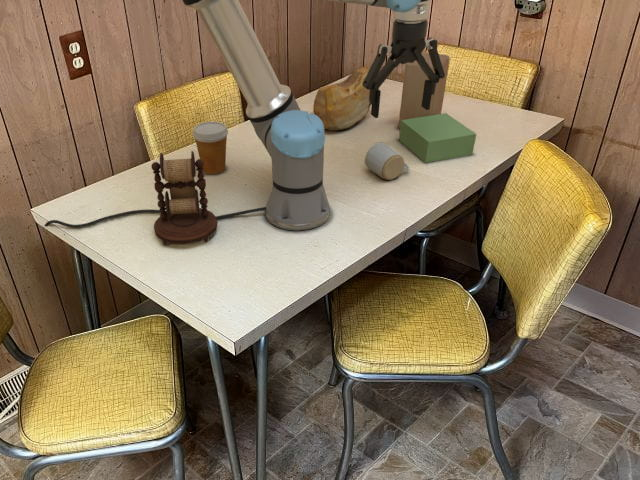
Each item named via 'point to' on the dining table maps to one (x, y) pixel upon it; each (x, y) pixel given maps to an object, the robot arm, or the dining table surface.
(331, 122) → the rough brown rock
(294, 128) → the robot arm
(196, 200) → the wooden thread spool stand
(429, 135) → the green block
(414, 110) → the wooden block
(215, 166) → the disposable coffee cup
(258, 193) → the dining table surface
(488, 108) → the dining table surface
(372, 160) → the ceramic mug
